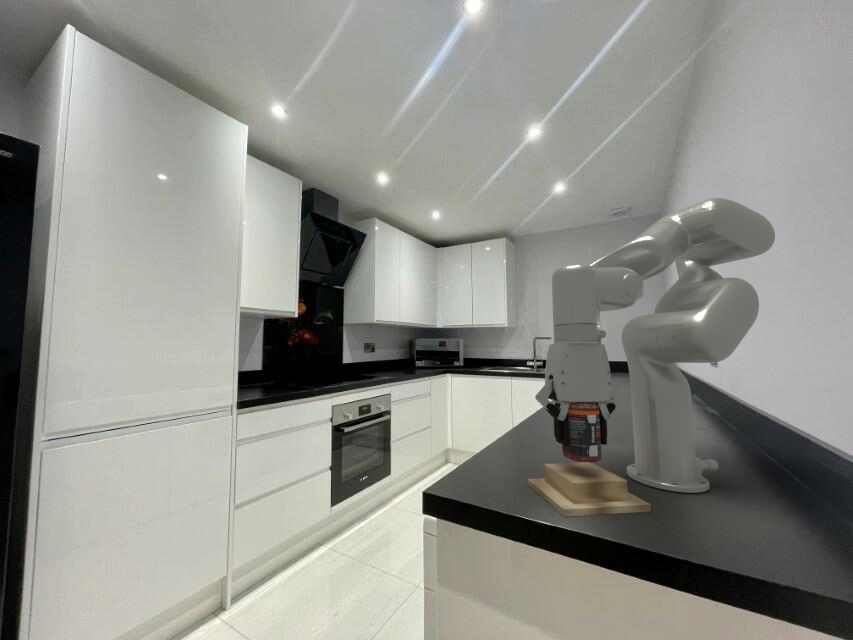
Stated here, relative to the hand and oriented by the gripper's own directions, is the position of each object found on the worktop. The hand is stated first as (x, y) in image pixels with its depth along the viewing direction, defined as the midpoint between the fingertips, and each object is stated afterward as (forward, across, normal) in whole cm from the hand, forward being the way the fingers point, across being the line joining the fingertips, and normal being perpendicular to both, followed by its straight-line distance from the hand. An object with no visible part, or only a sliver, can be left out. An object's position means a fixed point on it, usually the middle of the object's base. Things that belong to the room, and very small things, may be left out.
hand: (581, 442), depth 55 cm
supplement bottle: (+3, 0, 0) cm, 3 cm away
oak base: (+9, 0, 0) cm, 9 cm away
